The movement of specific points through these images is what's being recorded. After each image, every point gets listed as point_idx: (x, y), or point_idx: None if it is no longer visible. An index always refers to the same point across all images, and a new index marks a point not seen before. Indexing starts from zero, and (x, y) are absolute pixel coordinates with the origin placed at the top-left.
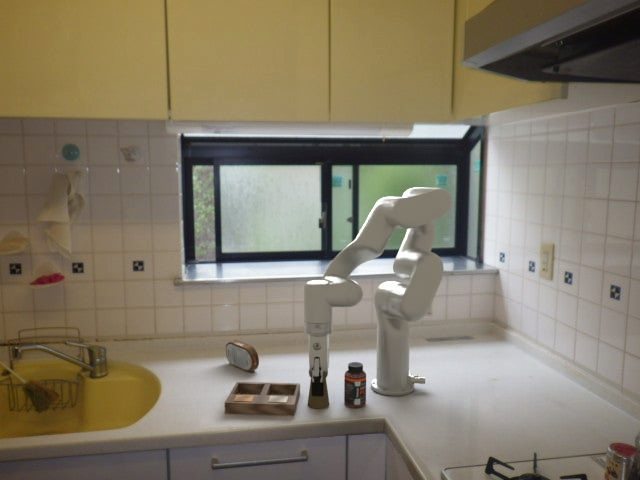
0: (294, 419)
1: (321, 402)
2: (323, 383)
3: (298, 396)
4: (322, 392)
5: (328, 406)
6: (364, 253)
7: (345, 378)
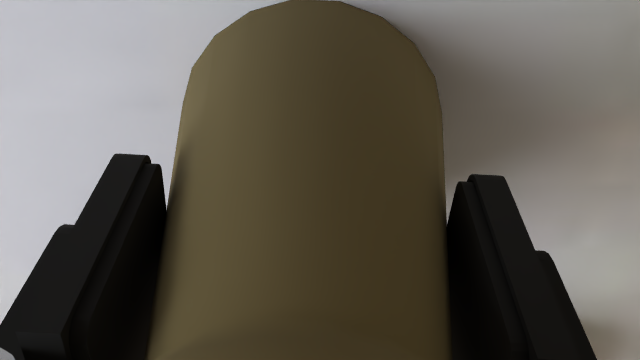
0: (613, 309)
1: (439, 135)
2: (567, 335)
3: None
4: (511, 221)
5: (369, 13)
6: None
7: None
